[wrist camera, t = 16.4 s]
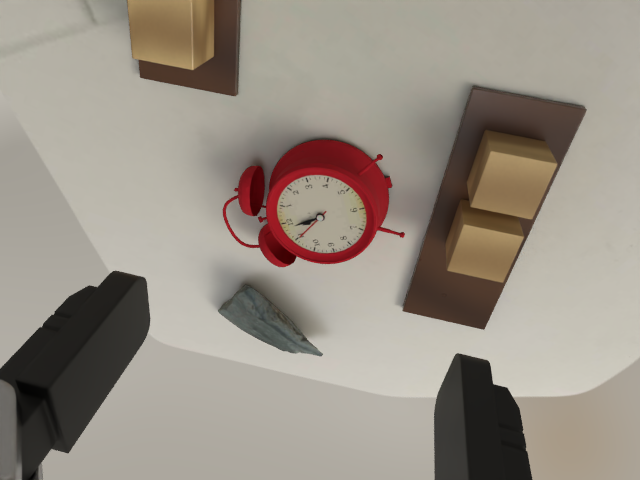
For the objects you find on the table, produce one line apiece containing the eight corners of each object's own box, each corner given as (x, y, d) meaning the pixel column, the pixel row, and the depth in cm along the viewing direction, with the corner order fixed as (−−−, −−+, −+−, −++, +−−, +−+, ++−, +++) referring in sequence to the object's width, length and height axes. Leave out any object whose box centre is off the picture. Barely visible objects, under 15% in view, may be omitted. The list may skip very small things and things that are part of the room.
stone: (295, 354, 56) (344, 334, 48) (278, 383, 53) (328, 365, 45) (225, 295, 54) (265, 263, 46) (204, 321, 51) (243, 292, 44)
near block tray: (472, 85, 35) (477, 106, 31) (585, 107, 34) (604, 130, 30) (402, 307, 47) (400, 340, 43) (483, 325, 47) (488, 361, 43)
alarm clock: (414, 254, 39) (244, 305, 41) (401, 219, 45) (251, 266, 47) (380, 137, 34) (189, 202, 36) (369, 113, 40) (204, 171, 42)
